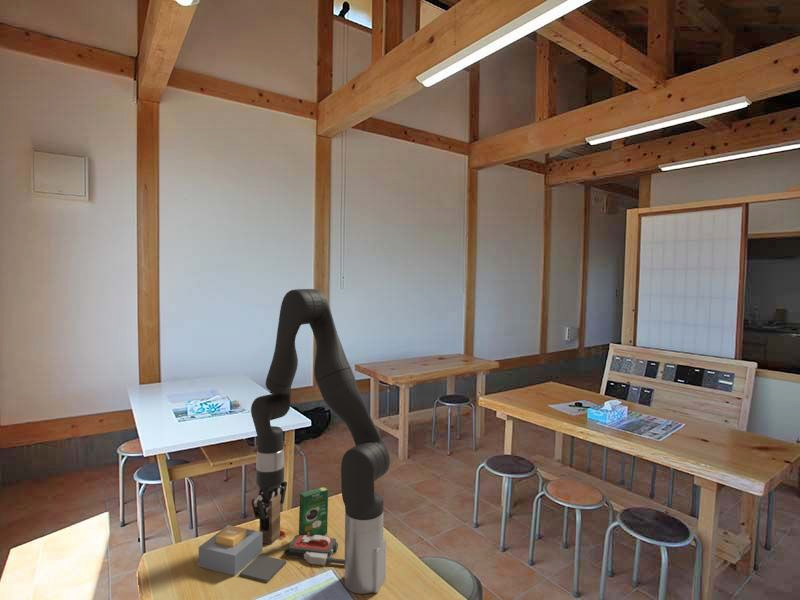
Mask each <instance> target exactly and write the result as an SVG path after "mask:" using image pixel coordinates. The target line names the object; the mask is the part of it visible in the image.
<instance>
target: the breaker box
mask: <svg viewBox="0 0 800 600" xmlns="http://www.w3.org/2000/svg"><path fill="white" fill-rule="evenodd" d="M229 526H232V525H231V524H230V525H229V524H228V525H227V526H225V527H224V528H222V529H221V530H219V532H217V533H216V534H215V535H213V536H211V537H210V538H209V539H207V540H206V541H205V542H203V543H202V544H201V545H199V546H198V568H202V569H206V570H211V571H215V572H219V573H223V574H226V575H229V576H234V577H235V576H237V575H238V574H240V572H241V571H243V570H244V569H245V568H246V567H247V566H248V565H249V564H250V563H251V562H252V561H253V560H254V559H256V558H257V557H258V556H259V555H260V554H261V553H262V552H263V542H262V536H263V532H259V531H258V530H255V529H250V528H249V529H248V528H245V527H244V528H243V527H242V528H243V529H247V530H246V538H245V539H243V540H242V541H241V542H240V543H239V544H237V545H236V546H235V547H234V548H232V547H228V546H224V545H220V544H216V536H217V535H218V534H220V533H221V532H222V531H224V530H225V529H226V528H228V527H229ZM233 526H234V525H233ZM234 527H238V528H241V527H240V526H234Z"/></svg>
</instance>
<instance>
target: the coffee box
mask: <svg viewBox="0 0 800 600" xmlns="http://www.w3.org/2000/svg"><path fill="white" fill-rule="evenodd" d="M328 509H329V489H328V488H327V487H326V486H322V487H318V488H315V489H311V490H307V491H303V492H299V511H298V512H299V517H298V518H299V519H298V535H307V536H314V535H322V536H325V535H327V534H328V521H329V519H328V517H329V516H328V515H329V510H328Z"/></svg>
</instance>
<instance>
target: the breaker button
mask: <svg viewBox="0 0 800 600" xmlns="http://www.w3.org/2000/svg"><path fill="white" fill-rule="evenodd" d="M238 527H239V526H236V527H234V525H231V526H229V527H228V528H226V529H225V530H224V531H222V532H221V533H220V534H218V535H217V536H216V544H220V545H224V546H228V547H232V548H234V547H235V546H236V545H237V544H239V543H240V542H241V541H242V540H243V539H245V538H246V530H247V529H248V528H245V529H243V527H240V528H238Z"/></svg>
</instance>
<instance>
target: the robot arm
mask: <svg viewBox="0 0 800 600" xmlns="http://www.w3.org/2000/svg"><path fill="white" fill-rule="evenodd" d="M279 310H280V311H279V316H278V323H277V324H278V326H277V331H276V340H275V347H274V352H273V356H272V359H271V360H272V361H271V363H270V367H269V369H268V373H267V376H266V379H265V388H266V389H267V390H268V391H269V392H271V393H270V394H265V395H261V396H258V397H256V398H254V400H253V401H252V403H251V406H250V414H251V418H252V421H253V424H254V428H255V433H256V437H257V438H256V439H257V441H256V443H257V446H256V450H257V451H256V457H255V459H256V460H255V461H256V462H255V463H256V464H255V470H256V471H255V473H256V474H255V476H256V478H255V481H256V483H255V484H257V486H258V487H259V490H258V493H257V494H258V496H257V497H256V498H252V500H251V506H252V510H253V514H254V518H256V519H259V520H260V519H261V530H263V531H268V530H269V509H271V500H273V498H274V496H278V495H279V494H280V507H281V505H282V504H284V502H285V496H286V492H287V485H288V482H287V481H284V480H285V453H284V452H285V451H284V431H283V429H282V428H281V427H279V426H274V425H273V426H272V425H271V421H273V420H277V419H280V418H283V417H285V416H286V415H287V414H288V412H289V410H290V409H291V402H292V401H291V399H292V397H291V396H292V385H293V381H294V379H295V376H296V373H297V371H298V370H297V369H298V365H299V360H298V353H297V348H296V337H297V334H298V333H299V330H300V328H301V326H302V325H309V326H310V328H311V331H312V333H313V336H314V338H315V339H314V340H315V344H316V345H315V346H316V350H315V351H316V352H315V359H314V360H315V361H314V368H313V371H314V374H313V375H314V379H315V381H316V384H317V386H318V389H319V391H320V394H321V397H322V399H323V401H324V402H325V404H326V405H327V406H328V407H329V408H330V409H331V411H333V412H334V414H336V415H337V416H338V417H339V418H340V419H341V420H342V421H343V423H344V424H345V425H346V427H347V428H348V430H349V432H350V434H351V437H352V440H353V441H354V445H355V446H353V447H351V448H349V449H348V450H346V451H345V453H344V454H343V456H342V459H341V463H340V464H341V465H340V478H341V479H340V480H341V498H342V499H341V500H342V502H343V504H344V507H345V509H344V519H345V520H344V559H345V564H344V571H343V572H344V576H343V577H344V580H343V581H344V586H345V587H346V588H347V590H349V591H350V592H352V593H355V594H360V595H361V594H364V595H365V594H370V593H373V594H377V593H378V592H379V590H380V588H381V586H382V585H383V583H384V581H385V580H386V578H387V577H386V573H387V572H386V571H387V570H386V569H387V567H386V566H387V551H386V550H387V540H386V538H384V508H385V507H384V505H385V503H384V498H383V497H382V495H380V494H379V493H377V492H375V482H376V481H377V480H379V479H380V478H382V476H384V475H385V474H387V472H388V471H389V469H390V464H391V459H390V454H389V450H388V448H387V446H386V444H385V442H384V440H383V438H382V436H381V434H380V432H379V430H378V428H377V427H376V425H375V423H374V421H373V418H372V417H371V415H370V413H369V410H368V407H367V405H366V403H365V400H364V398H363V396H362V393H361V391H360V388H359V386H358V382H357V380H356V377H355V374H354V373H353V370H352V368H351V365H350V363H349V361H348V359H347V356H346V354H345V353H346V352H345V350H344V348H343V345H342V343H341V340H340V337H339V335H338V331H337V328H336V324H335V321H334V318H333V314H332V310H331V308H330V304H329V302H328V299H327V297H326V296H325V294H324V293H323V292H322V290H318V289H316V288H298V289H296V288H295V289H291V290H289V291H288V292H286V293H285V295H284V297H283V298H282V302H281V304H280V309H279ZM263 503H266V504H268V503H269V504H268V506H267V505H263ZM264 509H266V513H265V512H264Z"/></svg>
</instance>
